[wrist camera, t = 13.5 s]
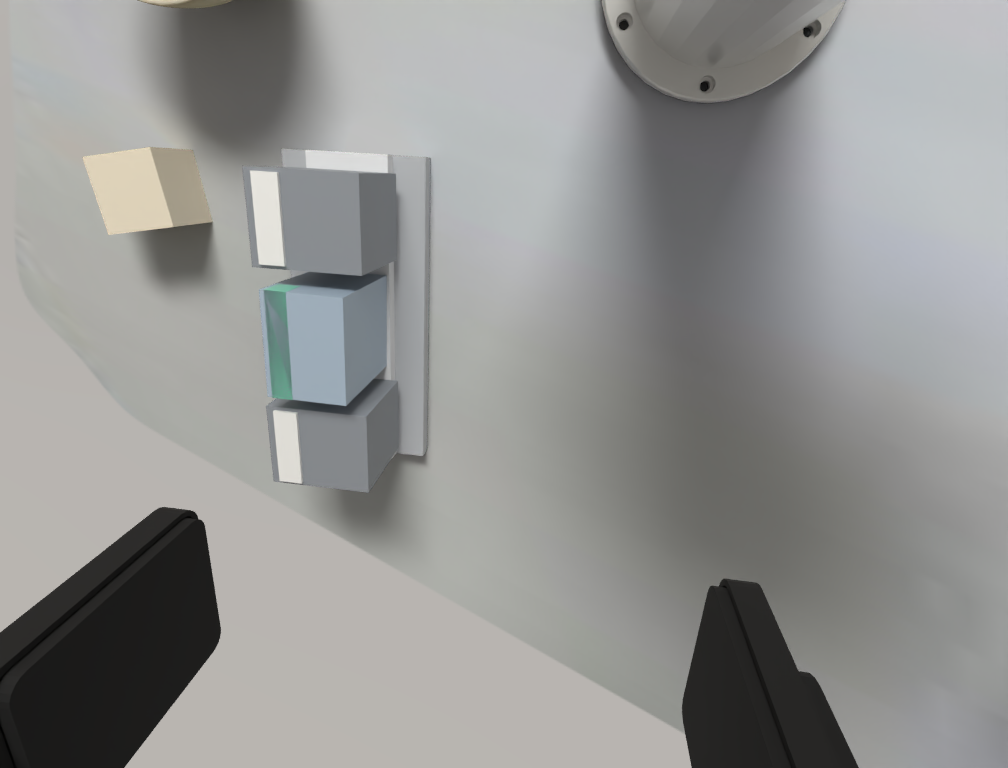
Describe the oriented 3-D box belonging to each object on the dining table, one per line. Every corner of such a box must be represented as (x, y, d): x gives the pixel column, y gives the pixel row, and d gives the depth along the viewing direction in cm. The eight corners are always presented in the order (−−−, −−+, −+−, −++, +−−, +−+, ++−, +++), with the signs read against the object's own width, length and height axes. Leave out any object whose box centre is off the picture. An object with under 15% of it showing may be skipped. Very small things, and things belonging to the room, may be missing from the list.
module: (317, 268, 36) (258, 289, 29) (386, 274, 35) (342, 297, 29) (321, 358, 38) (267, 397, 31) (386, 366, 37) (346, 406, 31)
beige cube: (132, 158, 37) (82, 157, 33) (193, 150, 36) (149, 147, 33) (154, 229, 38) (108, 234, 35) (213, 221, 38) (173, 226, 34)
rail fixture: (290, 149, 35) (208, 141, 28) (430, 157, 34) (386, 152, 27) (310, 435, 42) (250, 494, 35) (427, 448, 42) (392, 511, 34)
